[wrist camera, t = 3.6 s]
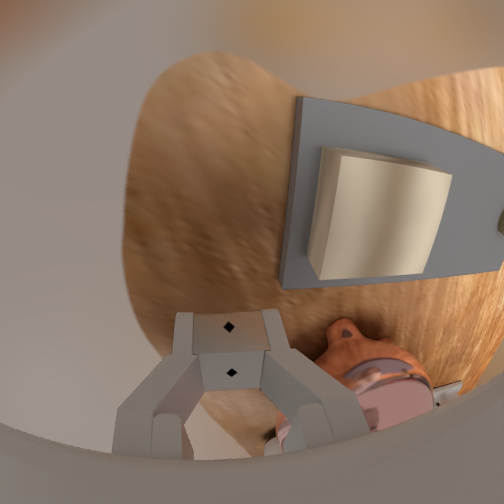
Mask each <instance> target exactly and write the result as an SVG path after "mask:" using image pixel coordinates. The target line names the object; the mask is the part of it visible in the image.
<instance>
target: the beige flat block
mask: <svg viewBox="0 0 504 504" xmlns="http://www.w3.org/2000/svg"><path fill="white" fill-rule="evenodd" d="M452 176H453V175H452V174H450V173H448V172H446V171H444V170H442V169H439V168H437V167H435V166H433V165H431V164H429V163H426V162H421V161H417V160H412V159H407V158H402V157H396V156H391V155H385V154H379V153H373V152H366V151H360V150H352V149H345V148H337V147H328V146H322V152H321V161H320V169H319V177H318V184H317V191H316V199H315V206H314V212H313V219H312V225H311V232H310V238H309V244H308V250H307V258H308V260H309V262H310V263H311V265H312V267H313V269H314V271H315V273H316V275H317V277H318V279H319V280H331V279H348V278H365V277H380V276H394V275H407V274H419V273H423V270H424V268H425V265H426V263H427V260H428V257H429V254H430V252H431V249H432V246H433V243H434V240H435V237H436V234H437V231H438V228H439V224H440V221H441V218H442V214H443V211H444V207H445V204H446V200H447V196H448V192H449V188H450V184H451V180H452Z"/></svg>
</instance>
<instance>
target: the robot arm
mask: <svg viewBox="0 0 504 504" xmlns="http://www.w3.org/2000/svg"><path fill="white" fill-rule="evenodd" d="M462 385H463V383H462V381H459V382H456V383H452V384H449V385H446V386H442V387H439V388H435V389H433V393H434V408H433V409H432V410H430V411H428V412H426V413H423V414H421V415H419V416H416V417H414V418H411V419H409V420H406V421H404V422H401V423H399V424H396V425H393V426H390V427H388V428H385V429H382V430H379V431H376V432H373V433H371V432H370V429H369V426H368V424H367V421H366V419H365V416H364V414H363V411H362V409H361V406H360V404H359V402H358V399H357V397H356V394H355V393H354V392H352V391H351V390H349V389H348V388H347V387H345V386H344V385H343V384H341V383H340V382H339V381H337V380H336V379H335V378H333V377H332V376H331V375H329V374H328V373H327V372H325V371H324V370H323V369H321V368H320V367H319V366H317V365H316V364H315V363H313V362H312V361H311V360H310V359H308V358H307V357H306V356H304V355H303V354H302V353H301V352H299V351H298V350H297V349H290V346H289V343H288V339H287V336H286V333H285V329H284V326H283V323H282V320H281V316H280V313H279V310H278V309H263V310H250V311H232V312H194V313H193V312H177V314H176V318H175V328H174V339H173V350H172V355H166V357H165V358H164V359H163V360H162V361H161V362H160V363H159V364H158V365H157V366H156V368H155V369H154V370H153V371H152V372H151V373H150V374H149V375H148V376H147V377H146V379H144V381H143V382H142V383H141V384H140V385H139V386H138V387H137V388H136V389H135V390H134V391H133V393H132V394H131V395H130V396H129V397H128V398H127V399H126V400H125V401H124V402H123V404H121V406H120V407H119V408H118V409H117V415H116V422H115V429H114V437H113V445H112V454H111V453H105V452H99V451H93V450H89V449H83V448H79V447H74V446H70V445H66V444H62V443H59V442H55V441H51V440H48V439H44V438H41V437H38V436H35V435H32V434H29V433H26V432H23V431H20V430H18V429H15V428H12V427H10V426H7V425H5V424H2V423H0V504H504V370H503V371H502V372H500V373H499V374H497V375H496V376H494V377H492V378H491V379H489V380H487V381H486V382H484V383H482V384H481V385H479V386H477V387H476V388H474V389H472V390H470V391H468V392H467V393H465V394H463V395H461V396H458V394H457V393H458V391H459V390H460V389H461V387H462ZM250 388H260V390H261V391H262V392H263V393H264V394H265V395H266V396H267V397H268V399H269V400H270V401H271V402H272V403H273V404H274V405H275V406H276V407H277V408H278V409H279V410H280V411H281V413H282V414H283V415H284V416H285V417H286V418H287V419H288V420H289V421H290V422H291V423H292V425H291V427H290V429H289V431H288V434H287V436H286V438H285V440H284V442H283V445H284V450H285V453H283V454H276V455H268V456H260V457H250V458H239V459H223V460H194V452H193V448H192V446H191V443H190V440H189V438H188V435H187V433H186V430H185V427H184V424H185V422H186V420H187V419H188V417H189V415H190V414H191V413H192V411H193V409H194V408H195V406H196V405H197V403H198V401H199V400H200V398H201V397H202V395H203V393H204V391H215V390H229V389H250Z"/></svg>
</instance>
